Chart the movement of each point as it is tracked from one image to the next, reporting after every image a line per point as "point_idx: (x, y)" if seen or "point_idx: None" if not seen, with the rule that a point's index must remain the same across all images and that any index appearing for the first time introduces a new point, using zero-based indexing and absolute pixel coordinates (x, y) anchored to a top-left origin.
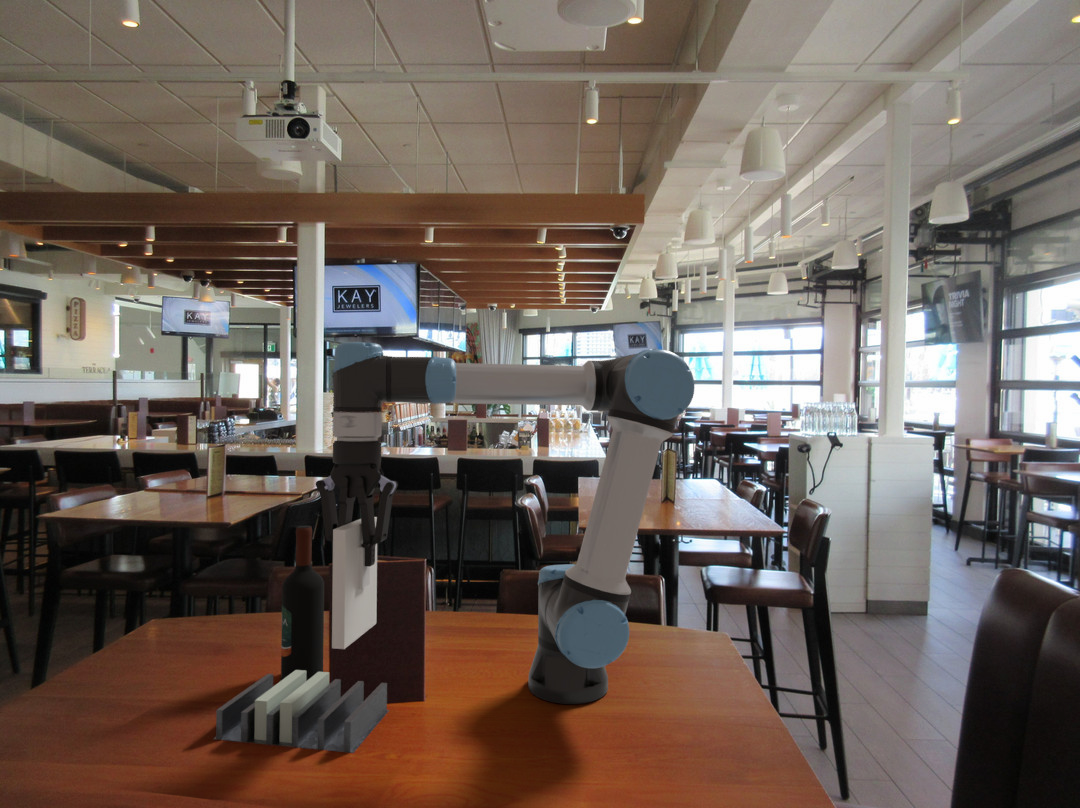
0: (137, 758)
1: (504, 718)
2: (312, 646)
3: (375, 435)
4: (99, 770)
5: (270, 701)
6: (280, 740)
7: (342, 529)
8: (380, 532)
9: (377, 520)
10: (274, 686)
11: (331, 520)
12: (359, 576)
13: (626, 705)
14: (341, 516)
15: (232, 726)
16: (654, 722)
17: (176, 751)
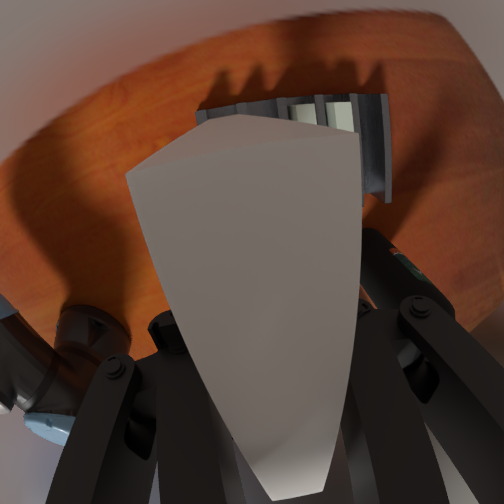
0: (415, 69)
1: (102, 262)
2: (369, 268)
3: None
4: (425, 49)
5: (333, 111)
6: (298, 104)
7: (205, 191)
8: (90, 402)
9: (93, 470)
10: None
11: (461, 393)
12: None
13: (40, 317)
14: (409, 451)
15: (368, 112)
16: (13, 297)
17: (395, 84)
